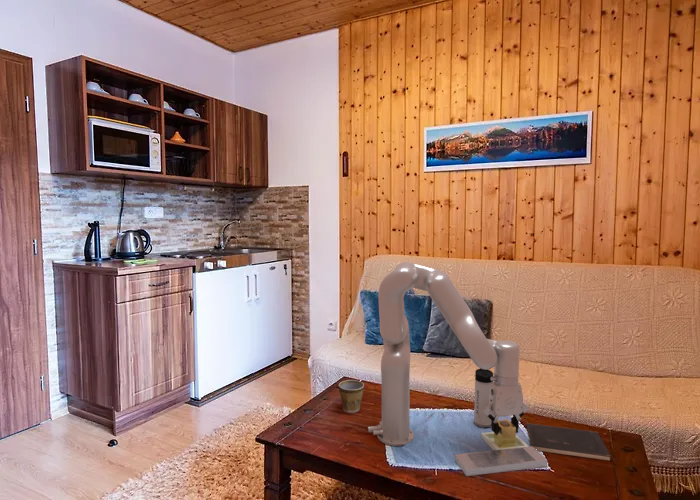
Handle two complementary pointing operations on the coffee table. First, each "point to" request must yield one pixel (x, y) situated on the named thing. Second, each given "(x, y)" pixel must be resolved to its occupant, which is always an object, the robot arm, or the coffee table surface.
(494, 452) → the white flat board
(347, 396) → the ceramic cup
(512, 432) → the block
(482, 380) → the travel mug
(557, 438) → the hardcover book
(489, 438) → the tray
